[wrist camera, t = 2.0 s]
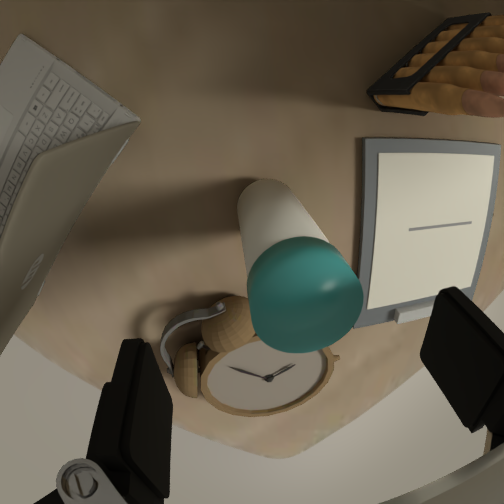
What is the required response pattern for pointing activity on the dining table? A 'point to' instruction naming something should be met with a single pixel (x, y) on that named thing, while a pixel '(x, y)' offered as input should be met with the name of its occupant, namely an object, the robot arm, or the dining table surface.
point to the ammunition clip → (449, 71)
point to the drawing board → (422, 222)
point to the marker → (293, 273)
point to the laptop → (47, 165)
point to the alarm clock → (243, 364)
